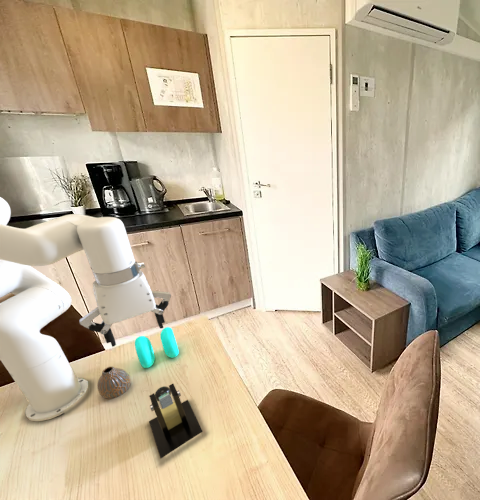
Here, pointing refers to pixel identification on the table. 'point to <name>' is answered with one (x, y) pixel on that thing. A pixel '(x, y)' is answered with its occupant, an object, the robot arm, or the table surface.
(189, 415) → the black lever base
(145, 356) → the turquoise capsule pair
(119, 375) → the vase
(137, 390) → the table surface
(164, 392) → the ball knob lever
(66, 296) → the robot arm
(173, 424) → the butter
